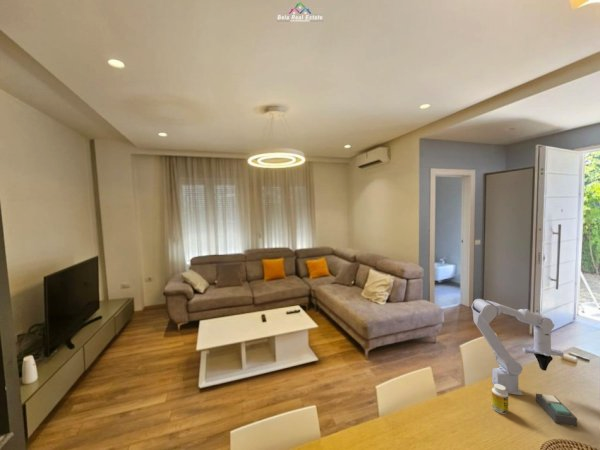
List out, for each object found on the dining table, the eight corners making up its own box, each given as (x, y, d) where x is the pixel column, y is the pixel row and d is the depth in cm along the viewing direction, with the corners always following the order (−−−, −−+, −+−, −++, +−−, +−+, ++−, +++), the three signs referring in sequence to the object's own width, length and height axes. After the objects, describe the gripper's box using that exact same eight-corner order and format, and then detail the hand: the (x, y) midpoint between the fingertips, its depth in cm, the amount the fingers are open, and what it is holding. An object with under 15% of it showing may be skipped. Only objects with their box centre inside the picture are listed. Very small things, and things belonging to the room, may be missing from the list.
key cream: (548, 405, 107) (548, 400, 106) (541, 398, 110) (541, 394, 110) (559, 406, 105) (559, 402, 105) (553, 400, 109) (553, 395, 109)
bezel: (555, 420, 100) (555, 414, 100) (535, 398, 112) (535, 393, 112) (576, 424, 98) (577, 418, 98) (554, 401, 110) (554, 396, 110)
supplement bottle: (505, 417, 104) (505, 392, 104) (489, 408, 109) (489, 385, 108) (510, 410, 107) (510, 387, 107) (494, 403, 112) (494, 380, 111)
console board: (555, 423, 100) (555, 420, 100) (535, 400, 112) (535, 398, 112) (576, 426, 98) (576, 424, 98) (554, 403, 110) (554, 401, 110)
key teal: (557, 415, 101) (557, 410, 101) (550, 407, 105) (550, 403, 105) (569, 417, 100) (569, 412, 100) (562, 409, 104) (562, 404, 104)
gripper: (528, 343, 116) (529, 372, 116) (568, 346, 112) (568, 376, 112) (519, 336, 123) (520, 363, 123) (556, 339, 118) (557, 367, 119)
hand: (542, 369), depth 118 cm, fingers closed
